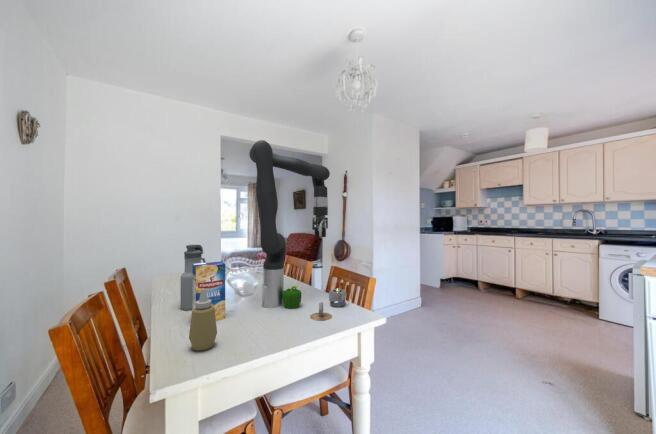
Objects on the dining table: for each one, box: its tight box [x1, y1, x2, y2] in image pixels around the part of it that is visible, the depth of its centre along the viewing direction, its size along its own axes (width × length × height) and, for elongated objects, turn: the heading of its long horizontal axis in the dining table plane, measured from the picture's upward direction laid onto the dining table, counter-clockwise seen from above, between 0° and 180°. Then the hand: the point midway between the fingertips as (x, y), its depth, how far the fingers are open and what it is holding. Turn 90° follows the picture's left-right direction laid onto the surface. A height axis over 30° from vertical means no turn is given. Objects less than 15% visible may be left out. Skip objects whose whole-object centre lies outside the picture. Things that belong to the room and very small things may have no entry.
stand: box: [309, 301, 333, 322], centre depth 108 cm, size 9×9×6 cm
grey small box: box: [328, 288, 347, 302], centre depth 121 cm, size 6×6×4 cm
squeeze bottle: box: [188, 289, 218, 352], centre depth 84 cm, size 8×8×18 cm
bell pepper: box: [282, 285, 302, 310], centre depth 119 cm, size 8×8×10 cm
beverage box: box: [191, 261, 226, 321], centre depth 106 cm, size 7×11×22 cm, turn 127°
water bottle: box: [180, 244, 206, 311], centre depth 120 cm, size 10×10×28 cm
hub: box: [329, 287, 346, 309], centre depth 121 cm, size 10×10×8 cm
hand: (320, 237), depth 136 cm, fingers open, 8 cm apart
